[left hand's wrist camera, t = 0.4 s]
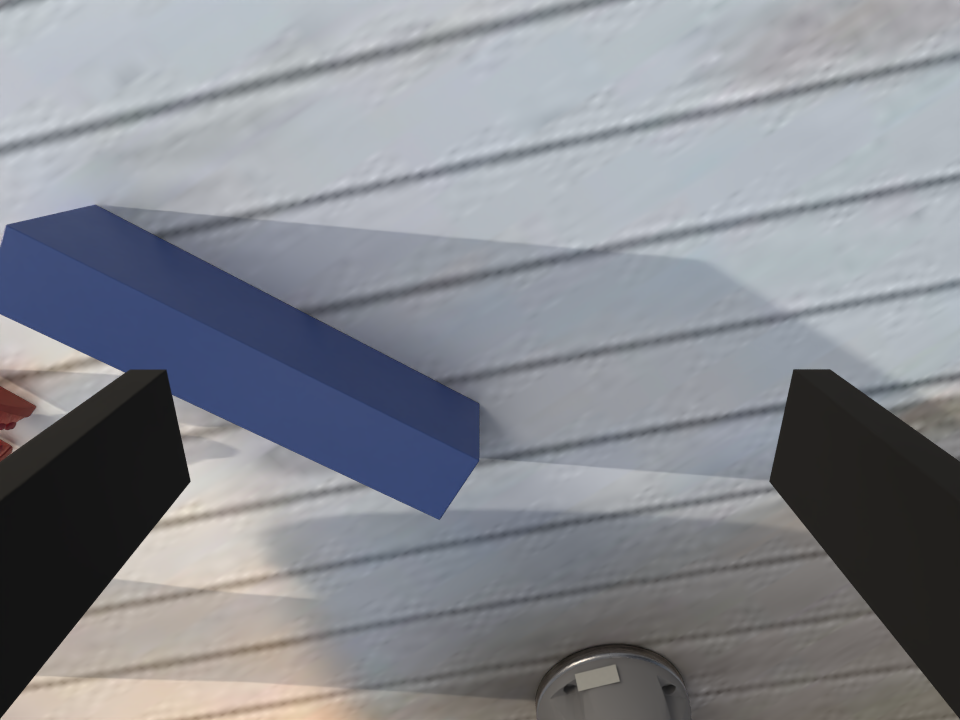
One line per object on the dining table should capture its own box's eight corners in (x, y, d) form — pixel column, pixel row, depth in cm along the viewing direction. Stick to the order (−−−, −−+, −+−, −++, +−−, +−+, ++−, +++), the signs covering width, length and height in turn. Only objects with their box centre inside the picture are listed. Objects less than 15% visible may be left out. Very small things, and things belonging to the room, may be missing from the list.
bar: (479, 403, 48) (479, 460, 40) (446, 455, 50) (439, 520, 42) (95, 204, 42) (5, 224, 34) (73, 272, 44) (-18, 306, 36)
